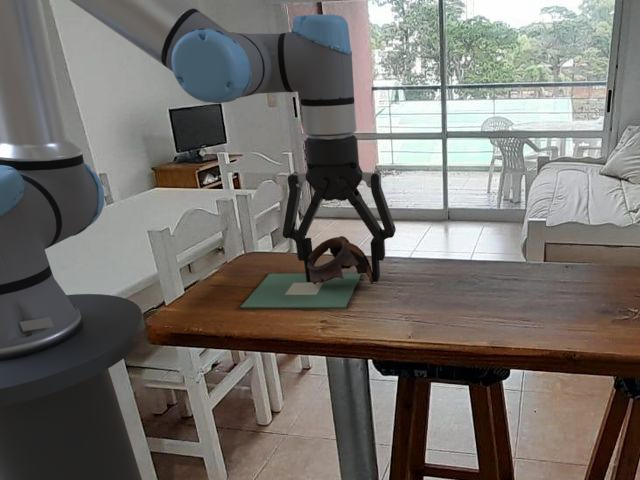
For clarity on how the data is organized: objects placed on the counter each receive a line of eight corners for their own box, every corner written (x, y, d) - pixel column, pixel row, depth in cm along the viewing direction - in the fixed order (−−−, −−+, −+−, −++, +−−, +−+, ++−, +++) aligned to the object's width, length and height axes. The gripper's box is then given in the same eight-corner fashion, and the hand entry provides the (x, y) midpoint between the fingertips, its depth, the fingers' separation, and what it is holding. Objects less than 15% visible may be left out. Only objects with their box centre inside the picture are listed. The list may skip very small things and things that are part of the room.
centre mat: (240, 308, 86) (240, 306, 86) (269, 275, 99) (269, 273, 99) (345, 308, 85) (345, 306, 85) (361, 274, 98) (360, 272, 97)
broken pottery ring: (381, 292, 88) (353, 254, 83) (328, 318, 90) (298, 282, 85) (374, 250, 97) (349, 213, 92) (327, 274, 99) (300, 239, 94)
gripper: (410, 130, 85) (415, 270, 95) (262, 133, 87) (281, 270, 96) (406, 137, 78) (411, 288, 88) (245, 140, 80) (267, 287, 89)
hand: (343, 279), depth 92 cm, fingers closed on broken pottery ring, 10 cm apart
